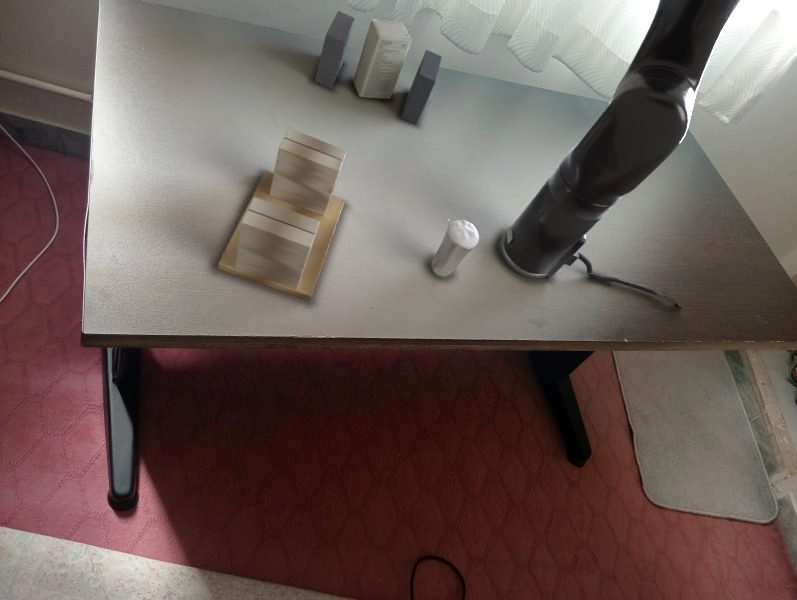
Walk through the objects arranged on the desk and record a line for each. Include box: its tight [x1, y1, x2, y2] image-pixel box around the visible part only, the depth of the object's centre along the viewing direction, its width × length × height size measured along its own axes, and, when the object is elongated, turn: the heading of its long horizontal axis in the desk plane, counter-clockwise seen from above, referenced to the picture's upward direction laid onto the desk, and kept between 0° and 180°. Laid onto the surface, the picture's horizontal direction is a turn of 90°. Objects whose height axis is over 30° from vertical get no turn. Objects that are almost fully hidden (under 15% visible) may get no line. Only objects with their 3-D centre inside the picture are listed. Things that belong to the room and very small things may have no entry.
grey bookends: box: [314, 10, 443, 125], centre depth 93 cm, size 19×8×9 cm, turn 79°
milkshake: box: [430, 217, 480, 278], centre depth 75 cm, size 4×5×10 cm
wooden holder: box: [217, 127, 348, 301], centre depth 69 cm, size 12×18×10 cm, turn 169°
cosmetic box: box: [353, 18, 413, 100], centre depth 92 cm, size 6×4×12 cm
